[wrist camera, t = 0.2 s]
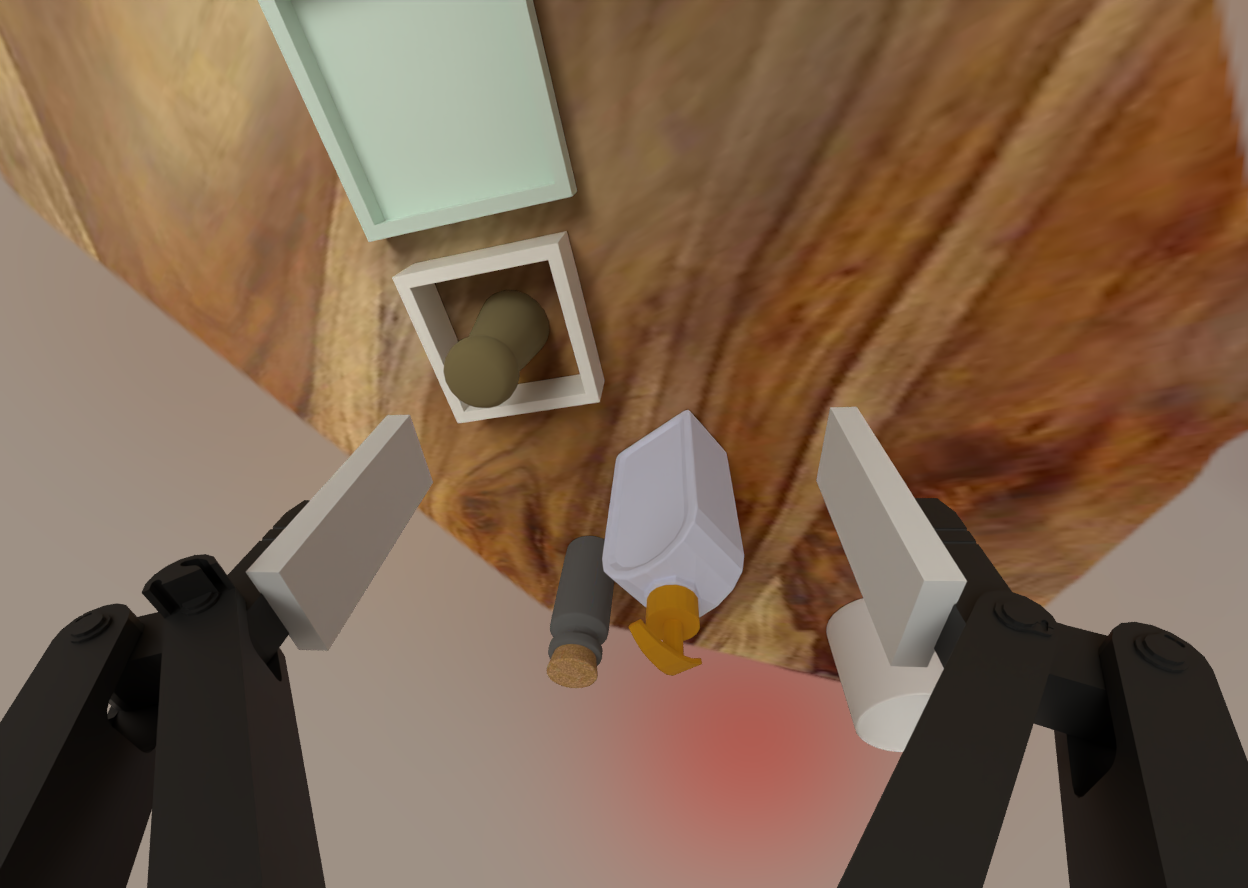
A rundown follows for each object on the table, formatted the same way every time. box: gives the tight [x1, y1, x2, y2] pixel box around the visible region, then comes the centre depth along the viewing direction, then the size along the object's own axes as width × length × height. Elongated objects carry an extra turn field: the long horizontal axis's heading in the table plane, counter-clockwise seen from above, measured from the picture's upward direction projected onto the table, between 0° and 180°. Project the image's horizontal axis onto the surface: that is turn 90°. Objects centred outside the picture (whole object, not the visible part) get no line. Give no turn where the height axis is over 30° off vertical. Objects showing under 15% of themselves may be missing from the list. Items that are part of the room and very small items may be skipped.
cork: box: [443, 290, 549, 408], centre depth 39 cm, size 6×6×11 cm
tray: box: [258, 0, 577, 242], centre depth 33 cm, size 16×16×2 cm
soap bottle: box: [602, 410, 744, 676], centre depth 40 cm, size 9×7×23 cm
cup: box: [826, 598, 944, 752], centre depth 57 cm, size 12×12×12 cm
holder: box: [392, 231, 605, 423], centre depth 42 cm, size 13×13×4 cm
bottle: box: [547, 536, 614, 688], centre depth 52 cm, size 6×6×15 cm
